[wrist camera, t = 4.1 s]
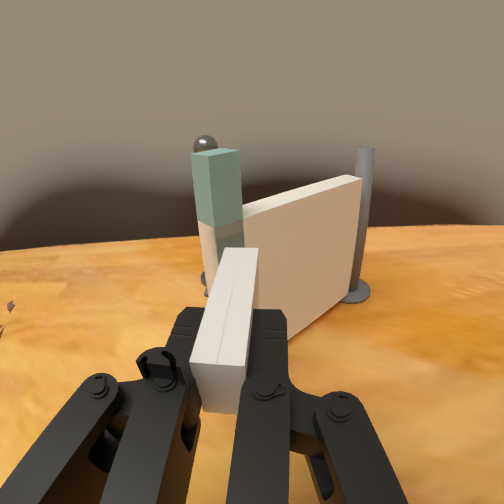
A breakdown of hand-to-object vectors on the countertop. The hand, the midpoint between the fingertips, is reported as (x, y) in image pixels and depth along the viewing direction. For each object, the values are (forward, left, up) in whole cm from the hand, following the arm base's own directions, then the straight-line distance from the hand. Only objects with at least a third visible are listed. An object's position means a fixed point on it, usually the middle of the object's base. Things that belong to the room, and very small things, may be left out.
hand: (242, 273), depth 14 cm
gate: (-4, -10, -12) cm, 17 cm away
